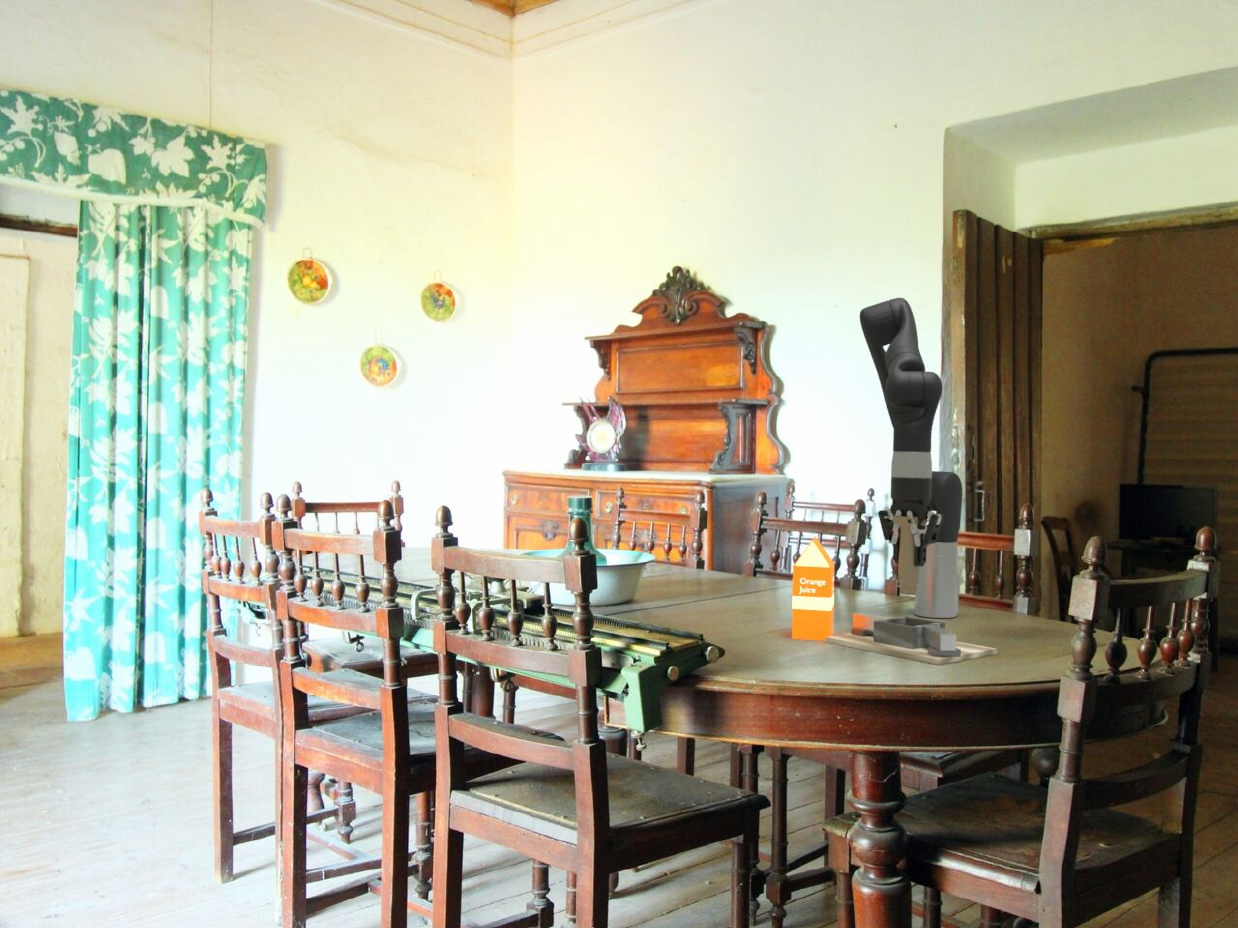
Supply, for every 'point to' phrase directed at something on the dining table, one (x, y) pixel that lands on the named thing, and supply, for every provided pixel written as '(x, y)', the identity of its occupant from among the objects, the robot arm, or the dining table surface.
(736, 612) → the dining table surface
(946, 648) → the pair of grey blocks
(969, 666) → the dining table surface
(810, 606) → the orange juice
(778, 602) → the dining table surface
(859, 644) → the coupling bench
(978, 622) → the dining table surface
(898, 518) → the handle
